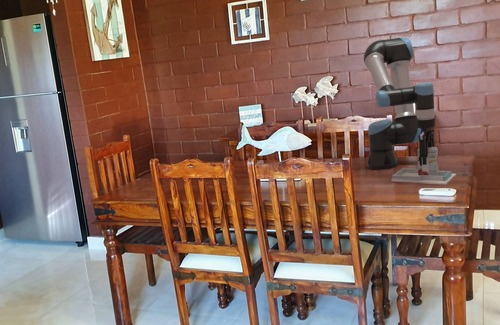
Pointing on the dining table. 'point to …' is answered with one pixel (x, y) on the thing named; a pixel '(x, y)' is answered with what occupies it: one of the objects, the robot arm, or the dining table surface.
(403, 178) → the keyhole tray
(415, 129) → the robot arm
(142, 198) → the dining table surface
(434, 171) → the ink box
